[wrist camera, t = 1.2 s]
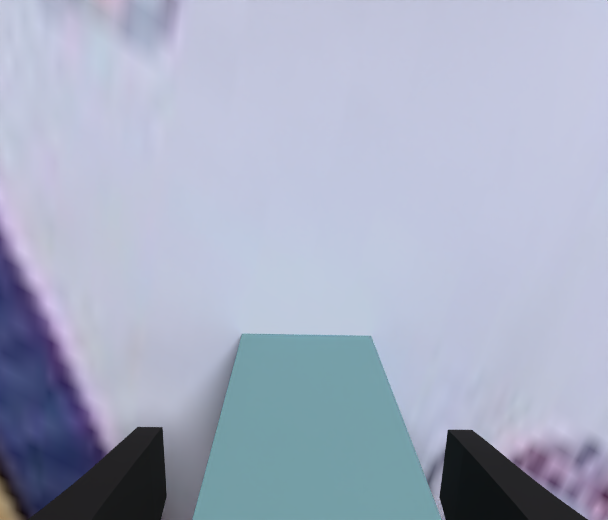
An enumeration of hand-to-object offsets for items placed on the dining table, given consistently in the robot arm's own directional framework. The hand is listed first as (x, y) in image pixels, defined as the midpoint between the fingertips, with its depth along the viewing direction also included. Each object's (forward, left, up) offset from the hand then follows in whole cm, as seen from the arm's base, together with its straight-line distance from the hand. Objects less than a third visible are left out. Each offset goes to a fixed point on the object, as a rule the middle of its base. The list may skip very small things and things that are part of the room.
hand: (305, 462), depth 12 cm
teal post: (0, 0, -3) cm, 3 cm away
